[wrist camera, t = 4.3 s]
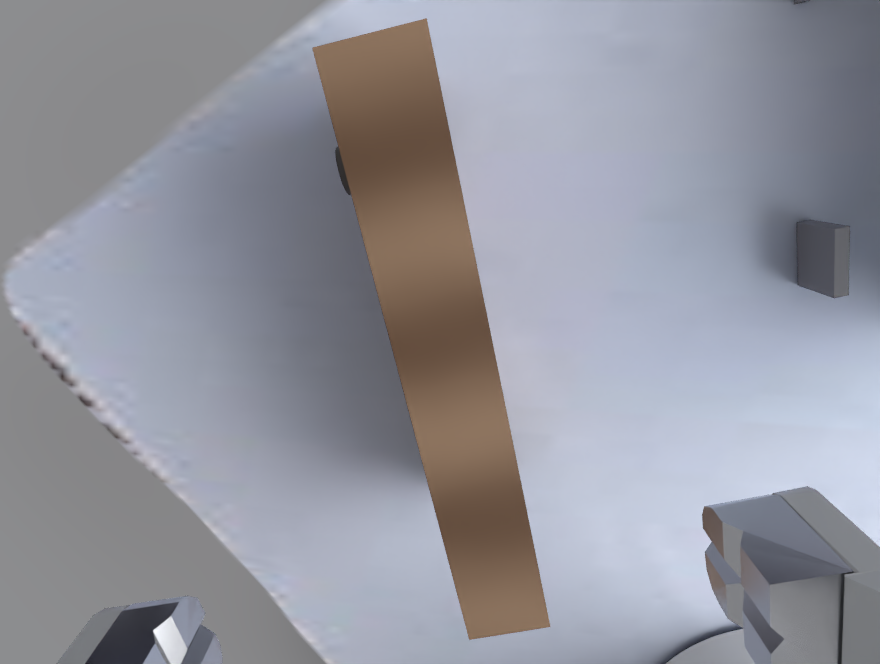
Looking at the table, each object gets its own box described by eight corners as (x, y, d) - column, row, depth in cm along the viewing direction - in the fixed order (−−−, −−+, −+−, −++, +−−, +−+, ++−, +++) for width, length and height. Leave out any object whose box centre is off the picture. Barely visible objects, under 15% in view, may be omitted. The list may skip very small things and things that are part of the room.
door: (516, 472, 29) (550, 626, 19) (448, 485, 29) (448, 643, 20) (435, 77, 23) (426, 18, 13) (350, 98, 23) (282, 55, 14)
